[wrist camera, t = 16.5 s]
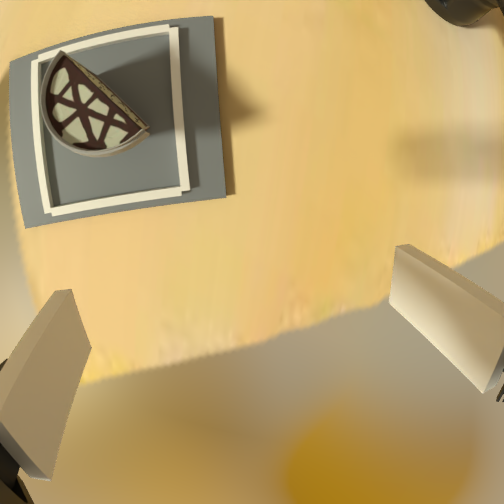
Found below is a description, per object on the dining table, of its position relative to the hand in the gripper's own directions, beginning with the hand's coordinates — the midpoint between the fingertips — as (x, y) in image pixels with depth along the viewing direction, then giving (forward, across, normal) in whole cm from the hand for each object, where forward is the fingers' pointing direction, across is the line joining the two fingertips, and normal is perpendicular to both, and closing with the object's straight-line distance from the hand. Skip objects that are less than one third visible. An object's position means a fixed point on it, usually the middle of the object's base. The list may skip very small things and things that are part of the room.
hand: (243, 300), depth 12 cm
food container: (+26, +11, -10) cm, 30 cm away
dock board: (+27, +11, -10) cm, 31 cm away
